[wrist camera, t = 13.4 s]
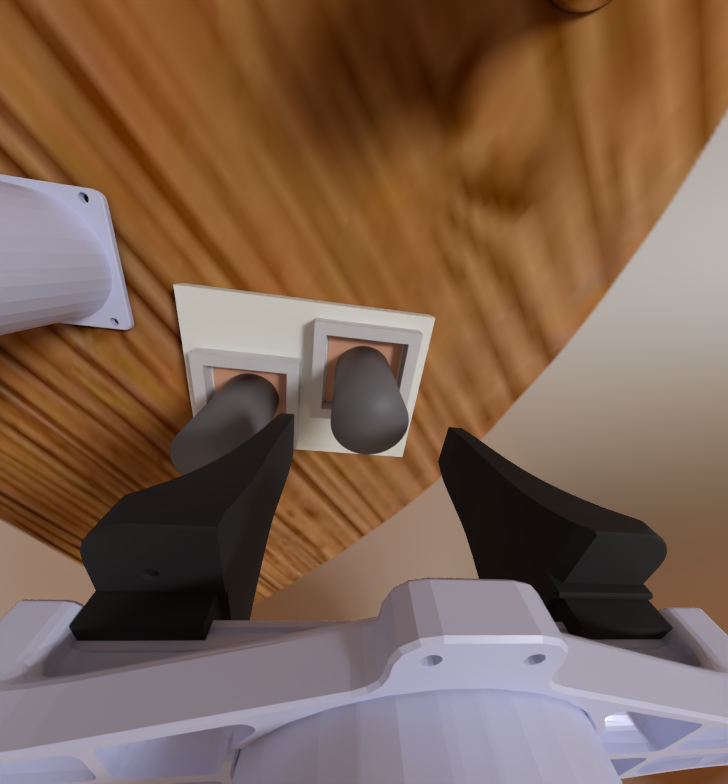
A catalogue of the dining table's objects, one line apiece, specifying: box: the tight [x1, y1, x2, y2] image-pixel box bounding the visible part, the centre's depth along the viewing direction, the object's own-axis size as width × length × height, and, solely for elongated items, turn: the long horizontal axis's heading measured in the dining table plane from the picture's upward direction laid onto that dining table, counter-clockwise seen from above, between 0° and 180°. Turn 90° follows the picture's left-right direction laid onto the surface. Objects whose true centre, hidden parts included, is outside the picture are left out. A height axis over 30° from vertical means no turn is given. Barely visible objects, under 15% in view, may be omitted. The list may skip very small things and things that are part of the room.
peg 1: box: [170, 373, 279, 475], centre depth 18 cm, size 4×4×7 cm
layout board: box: [173, 283, 435, 457], centre depth 21 cm, size 17×12×2 cm
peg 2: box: [330, 346, 409, 455], centre depth 17 cm, size 4×4×7 cm
